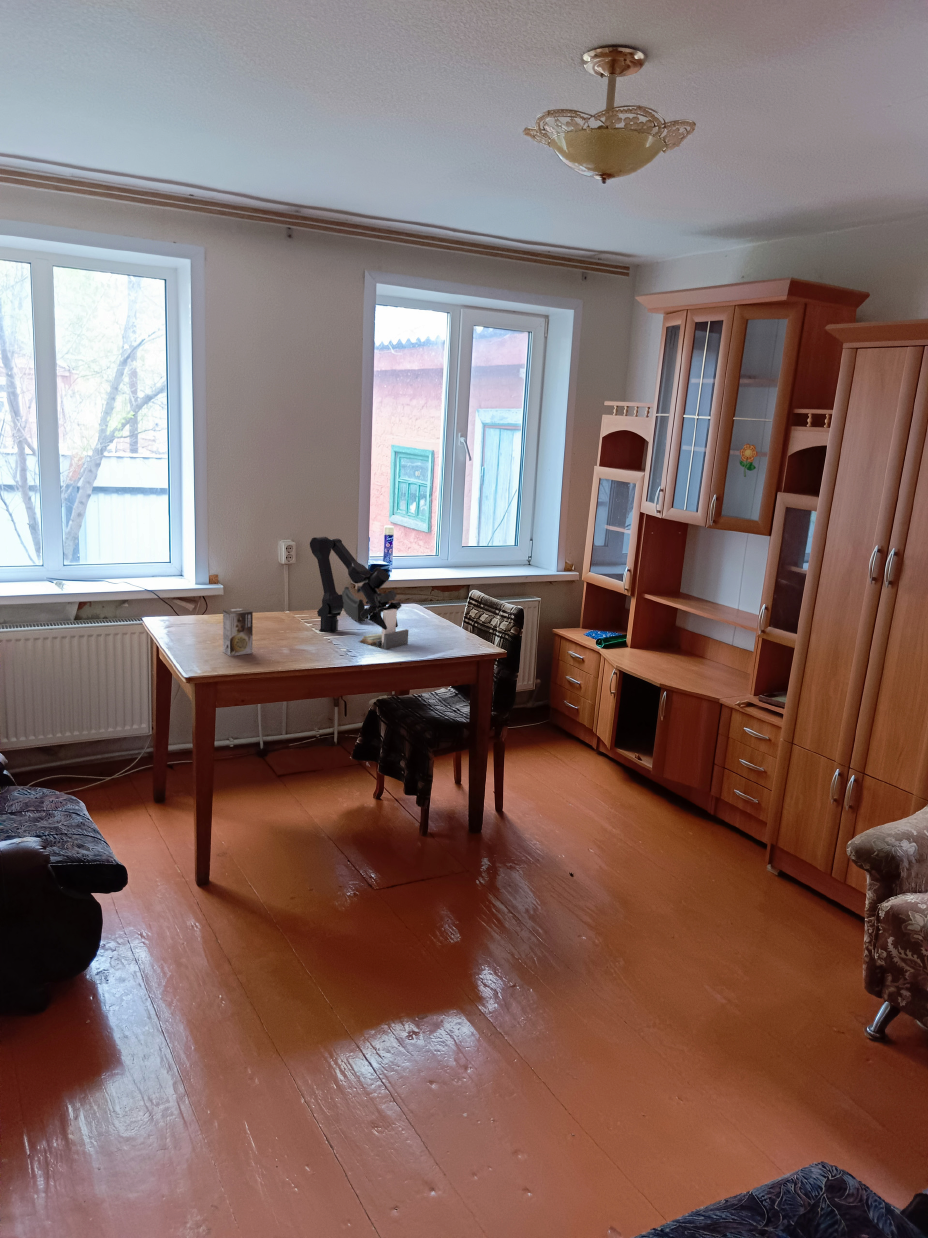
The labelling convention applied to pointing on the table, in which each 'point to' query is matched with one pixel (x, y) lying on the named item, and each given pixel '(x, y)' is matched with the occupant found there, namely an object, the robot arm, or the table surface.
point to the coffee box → (237, 631)
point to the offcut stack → (371, 639)
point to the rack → (392, 640)
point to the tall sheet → (389, 622)
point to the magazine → (352, 605)
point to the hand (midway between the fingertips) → (391, 628)
